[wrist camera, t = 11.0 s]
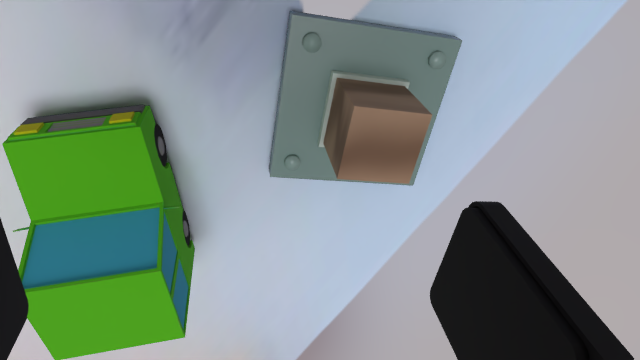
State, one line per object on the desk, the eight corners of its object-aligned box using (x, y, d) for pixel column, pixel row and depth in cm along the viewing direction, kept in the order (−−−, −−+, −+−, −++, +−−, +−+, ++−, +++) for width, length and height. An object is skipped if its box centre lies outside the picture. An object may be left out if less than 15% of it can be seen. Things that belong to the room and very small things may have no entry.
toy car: (169, 90, 29) (144, 163, 21) (208, 237, 37) (200, 334, 28) (11, 108, 28) (-82, 193, 20) (83, 256, 35) (38, 363, 27)
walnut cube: (336, 77, 29) (354, 106, 25) (404, 86, 30) (432, 114, 26) (323, 143, 31) (337, 179, 27) (386, 148, 33) (409, 183, 28)
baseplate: (289, 10, 28) (293, 16, 26) (454, 36, 31) (466, 42, 29) (269, 168, 34) (270, 180, 32) (408, 177, 37) (415, 189, 35)
